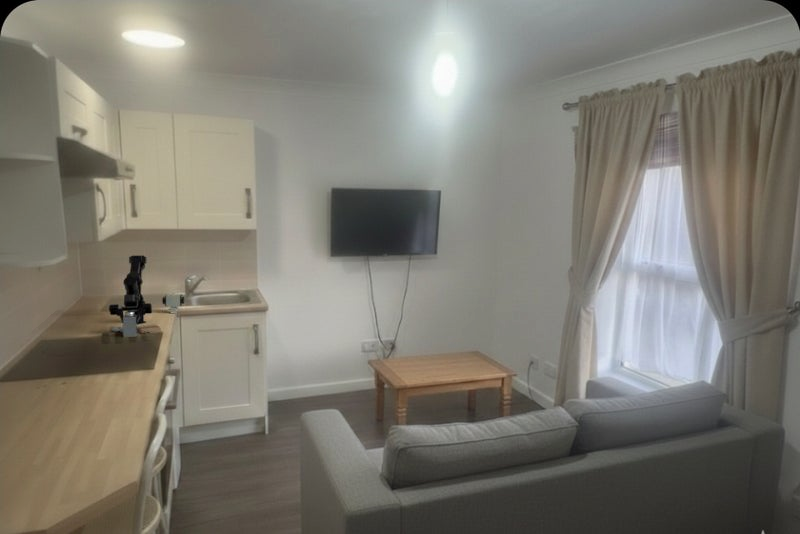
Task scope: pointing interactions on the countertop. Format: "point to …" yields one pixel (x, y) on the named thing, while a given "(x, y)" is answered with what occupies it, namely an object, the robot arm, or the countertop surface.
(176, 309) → the pneumatic valve
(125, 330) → the housing
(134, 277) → the robot arm
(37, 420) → the countertop surface
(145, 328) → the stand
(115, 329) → the bolt
